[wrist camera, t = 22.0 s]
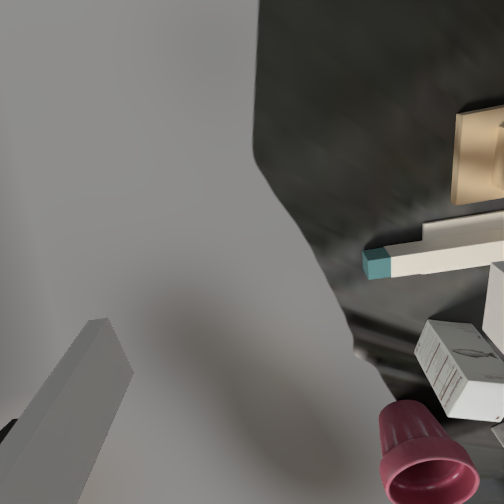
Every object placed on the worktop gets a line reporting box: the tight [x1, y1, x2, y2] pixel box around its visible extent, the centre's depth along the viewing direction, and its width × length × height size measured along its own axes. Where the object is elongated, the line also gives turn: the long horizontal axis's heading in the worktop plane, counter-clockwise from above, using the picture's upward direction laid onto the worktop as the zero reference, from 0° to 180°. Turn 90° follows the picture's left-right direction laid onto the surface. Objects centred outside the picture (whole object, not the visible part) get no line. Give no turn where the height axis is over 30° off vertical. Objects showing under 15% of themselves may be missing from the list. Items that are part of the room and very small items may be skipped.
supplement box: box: [414, 319, 504, 422], centre depth 50 cm, size 7×7×13 cm
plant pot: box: [379, 400, 480, 504], centre depth 59 cm, size 14×14×13 cm
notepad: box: [421, 210, 504, 274], centre depth 48 cm, size 8×15×1 cm, turn 101°
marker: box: [362, 228, 504, 280], centre depth 47 cm, size 3×21×3 cm, turn 101°
